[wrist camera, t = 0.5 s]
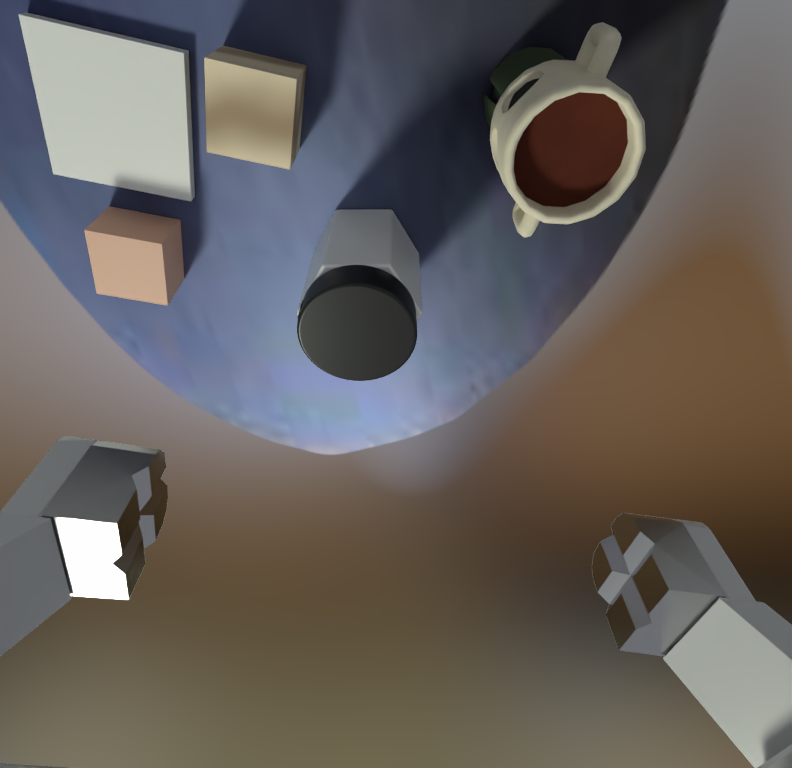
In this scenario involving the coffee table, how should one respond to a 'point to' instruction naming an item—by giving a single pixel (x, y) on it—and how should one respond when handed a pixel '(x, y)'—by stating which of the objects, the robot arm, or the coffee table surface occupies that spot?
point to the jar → (361, 296)
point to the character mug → (563, 132)
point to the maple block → (253, 106)
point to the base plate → (112, 106)
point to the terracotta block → (136, 255)
